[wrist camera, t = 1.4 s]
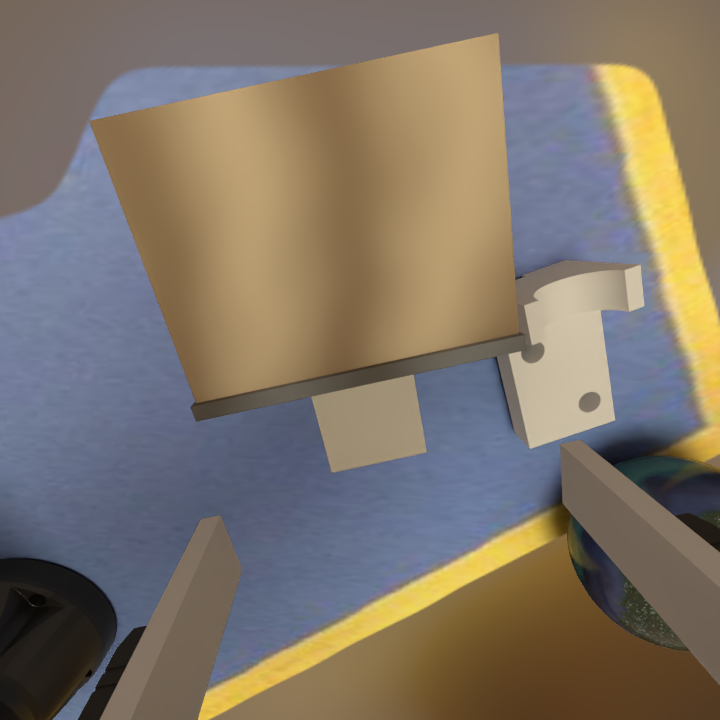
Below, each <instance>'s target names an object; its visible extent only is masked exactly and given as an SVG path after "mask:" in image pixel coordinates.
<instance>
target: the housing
mask: <svg viewBox="0 0 720 720" xmlns="http://www.w3.org/2000/svg"><path fill="white" fill-rule="evenodd" d="M89 122H90V124H91V127H92V130H93V132H94V135H95V138H96V140H97V143H98V145H99V148H100V151H101V153H102V156H103V159H104V161H105V164H106V167H107V169H108V172H109V174H110V177H111V180H112V182H113V185H114V188H115V190H116V193H117V196H118V198H119V201H120V203H121V206H122V209H123V211H124V214H125V217H126V219H127V222H128V225H129V227H130V230H131V232H132V235H133V238H134V240H135V243H136V246H137V248H138V251H139V254H140V256H141V259H142V261H143V264H144V267H145V269H146V272H147V275H148V277H149V280H150V283H151V285H152V288H153V290H154V293H155V296H156V298H157V301H158V304H159V306H160V309H161V312H162V314H163V317H164V319H165V322H166V325H167V327H168V330H169V333H170V335H171V338H172V341H173V343H174V346H175V348H176V351H177V354H178V356H179V359H180V362H181V364H182V367H183V370H184V372H185V375H186V377H187V380H188V383H189V385H190V388H191V391H192V393H193V396H194V399H195V401H196V402H195V403H194V404H193V405H192V406H191V409H192V412H193V415H194V417H195V420H196V421H201V420H206V419H210V418H215V417H220V416H224V415H229V414H233V413H238V412H243V411H247V410H252V409H256V408H261V407H266V406H270V405H275V404H280V403H284V402H289V401H293V400H298V399H303V398H307V397H312V396H317V395H321V394H326V393H330V392H335V391H340V390H344V389H349V388H354V387H358V386H363V385H367V384H372V383H377V382H381V381H386V380H391V379H395V378H400V377H404V376H409V375H414V374H418V373H423V372H427V371H432V370H437V369H441V368H446V367H451V366H455V365H460V364H464V363H469V362H474V361H478V360H483V359H488V358H492V357H497V356H501V355H506V354H511V353H515V352H520V351H525V350H527V346H526V335H525V334H523V333H521V332H519V324H518V310H517V295H516V281H515V267H514V252H513V238H512V224H511V209H510V195H509V181H508V166H507V152H506V138H505V123H504V109H503V95H502V80H501V66H500V52H499V37H498V33H496V34H491V35H487V36H482V37H478V38H473V39H468V40H463V41H459V42H454V43H449V44H445V45H440V46H435V47H431V48H426V49H422V50H417V51H412V52H408V53H403V54H399V55H394V56H389V57H384V58H380V59H375V60H371V61H366V62H361V63H356V64H352V65H347V66H342V67H338V68H333V69H329V70H324V71H319V72H315V73H310V74H305V75H301V76H296V77H291V78H287V79H282V80H277V81H273V82H268V83H263V84H259V85H254V86H250V87H245V88H240V89H236V90H231V91H226V92H222V93H217V94H212V95H208V96H203V97H198V98H194V99H189V100H184V101H180V102H175V103H171V104H166V105H161V106H157V107H152V108H147V109H143V110H138V111H133V112H129V113H124V114H119V115H115V116H110V117H105V118H101V119H96V120H92V121H89Z"/></svg>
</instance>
